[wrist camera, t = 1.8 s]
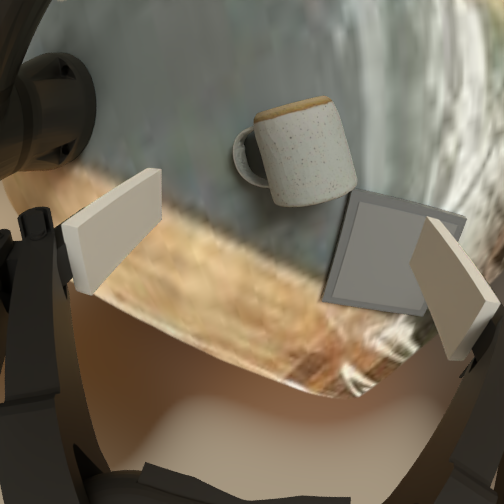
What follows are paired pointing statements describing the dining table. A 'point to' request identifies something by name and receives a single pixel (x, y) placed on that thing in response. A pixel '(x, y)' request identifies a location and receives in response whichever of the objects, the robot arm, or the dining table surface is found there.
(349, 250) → the trivet
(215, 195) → the dining table surface
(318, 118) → the ceramic mug
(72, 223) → the robot arm
